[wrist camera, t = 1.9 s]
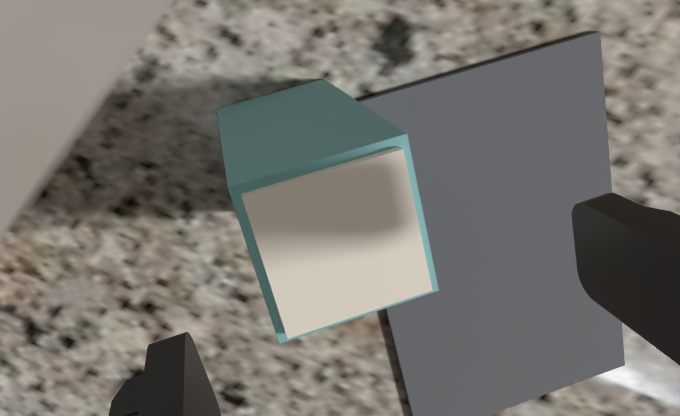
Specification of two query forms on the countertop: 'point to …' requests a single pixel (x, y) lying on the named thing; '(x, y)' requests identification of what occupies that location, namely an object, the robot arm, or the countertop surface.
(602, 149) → the rubber mat
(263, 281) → the teal block
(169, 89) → the countertop surface
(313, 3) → the countertop surface
